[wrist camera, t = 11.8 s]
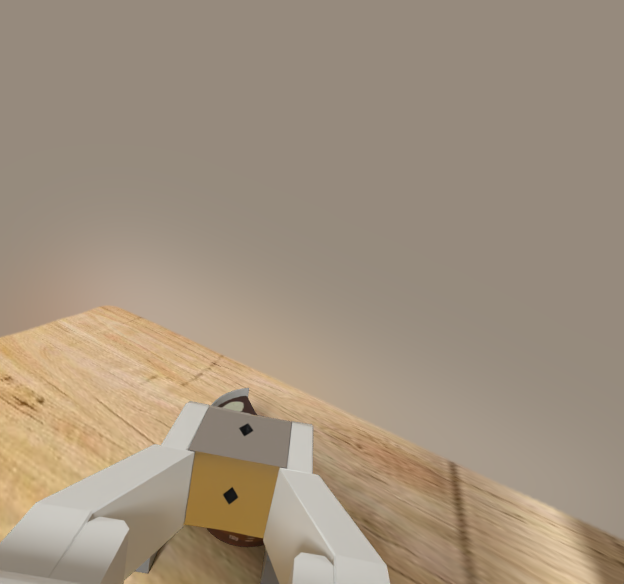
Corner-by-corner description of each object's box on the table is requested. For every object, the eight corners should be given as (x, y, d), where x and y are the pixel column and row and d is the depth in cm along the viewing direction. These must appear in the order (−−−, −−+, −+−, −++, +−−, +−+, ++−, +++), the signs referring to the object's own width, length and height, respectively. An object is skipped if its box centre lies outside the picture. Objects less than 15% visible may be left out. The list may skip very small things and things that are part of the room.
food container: (177, 469, 40) (188, 388, 38) (233, 460, 43) (247, 385, 41) (199, 582, 30) (216, 482, 27) (270, 559, 33) (292, 468, 30)
